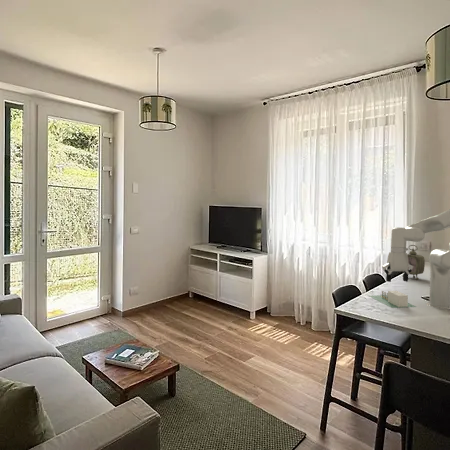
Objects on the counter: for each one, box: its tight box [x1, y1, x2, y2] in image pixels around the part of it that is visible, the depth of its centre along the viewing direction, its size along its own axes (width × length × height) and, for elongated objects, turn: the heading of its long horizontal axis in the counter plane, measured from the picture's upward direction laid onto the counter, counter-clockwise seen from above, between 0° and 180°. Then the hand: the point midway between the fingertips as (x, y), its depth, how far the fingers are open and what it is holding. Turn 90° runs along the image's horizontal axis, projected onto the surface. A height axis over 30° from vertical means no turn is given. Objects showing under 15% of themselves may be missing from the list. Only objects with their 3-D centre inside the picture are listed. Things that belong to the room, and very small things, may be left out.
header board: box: [369, 290, 417, 309], centre depth 195 cm, size 14×24×5 cm, turn 6°
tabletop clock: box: [400, 244, 426, 281], centre depth 257 cm, size 14×9×25 cm, turn 28°
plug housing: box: [387, 290, 409, 308], centre depth 189 cm, size 5×10×6 cm, turn 6°
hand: (397, 281), depth 188 cm, fingers open, 9 cm apart
